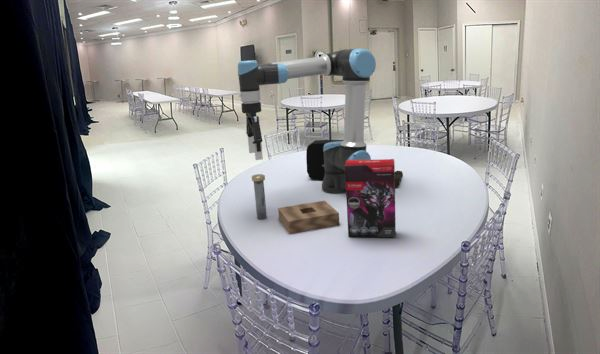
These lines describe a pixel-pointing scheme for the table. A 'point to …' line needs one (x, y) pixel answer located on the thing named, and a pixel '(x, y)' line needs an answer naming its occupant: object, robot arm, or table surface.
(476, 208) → the table surface
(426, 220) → the table surface
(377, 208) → the graphics card box
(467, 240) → the table surface
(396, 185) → the hand tool
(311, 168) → the black hard case
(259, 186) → the pin
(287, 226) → the hole block
